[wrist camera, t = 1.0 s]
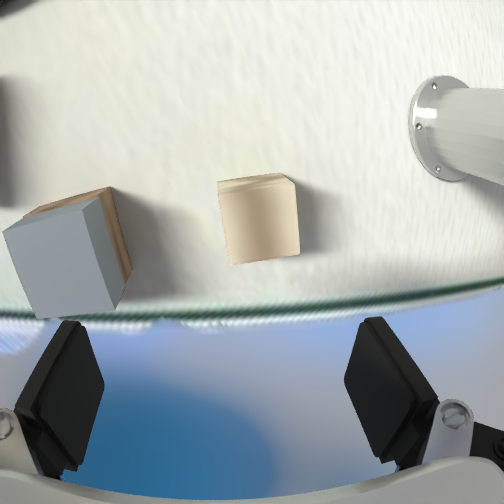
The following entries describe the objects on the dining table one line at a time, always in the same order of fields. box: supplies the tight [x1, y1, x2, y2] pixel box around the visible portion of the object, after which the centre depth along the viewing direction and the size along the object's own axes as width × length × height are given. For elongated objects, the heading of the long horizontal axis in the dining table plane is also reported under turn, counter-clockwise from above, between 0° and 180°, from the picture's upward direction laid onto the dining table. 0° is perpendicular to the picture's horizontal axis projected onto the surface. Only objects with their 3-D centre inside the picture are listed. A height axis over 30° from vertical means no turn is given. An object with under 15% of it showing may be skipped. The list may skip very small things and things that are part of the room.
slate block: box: [3, 197, 125, 319], centre depth 24 cm, size 9×9×4 cm
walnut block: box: [23, 187, 132, 285], centre depth 28 cm, size 9×9×4 cm
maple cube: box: [217, 173, 300, 266], centre depth 28 cm, size 6×6×6 cm
